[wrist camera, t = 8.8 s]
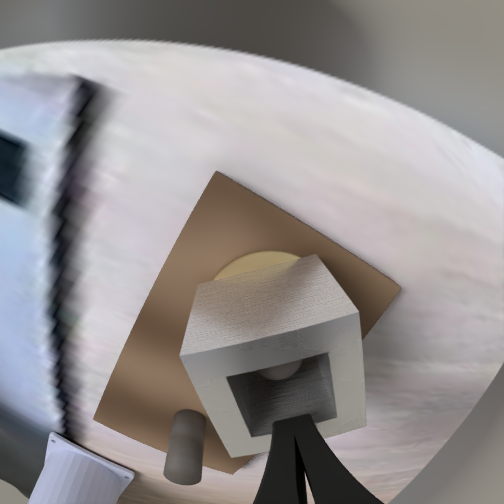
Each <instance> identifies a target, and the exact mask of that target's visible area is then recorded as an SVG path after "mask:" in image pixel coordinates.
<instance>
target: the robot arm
mask: <svg viewBox="0 0 504 504" xmlns="http://www.w3.org/2000/svg"><path fill="white" fill-rule="evenodd" d="M304 471H305V472H304ZM305 474H306V477H307V480H308V483H309V486H310V489H311V492H312V495H313V498H314V501H315V504H384V503H383V502H382V501H380V500H379V499H378V498H376V497H375V496H374V495H373V494H372V493H370V492H369V491H368V490H367V489H366V488H365V487H364V486H363V485H362V484H361V483H359V482H358V481H357V480H356V479H355V478H354V477H353V475H352V474H351V473H350V472H349V471H348V470H347V469H346V468H345V467H344V466H343V464H342V463H341V462H340V461H339V460H338V458H337V457H336V456H335V454H334V453H333V452H332V450H331V449H330V448H329V446H328V445H327V443H326V442H325V441H324V439H323V437H322V436H321V434H320V432H319V431H318V429H317V427H316V425H315V423H314V421H313V418H312V416H311V414H304V415H300V416H295V417H291V418H287V419H282V420H278V421H275V422H274V423H273V424H272V439H271V445H270V451H269V455H268V460H267V464H266V468H265V471H264V475H263V478H262V481H261V484H260V487H259V490H258V492H257V495H256V497H255V500H254V502H253V504H307V492H306V482H305ZM134 476H135V473H134V472H133V471H131V470H128V469H126V468H124V467H121V466H119V465H117V464H115V463H112V462H110V461H108V460H106V459H104V458H102V457H100V456H97V455H95V454H93V453H91V452H89V451H87V450H85V449H84V448H82V447H80V446H78V445H76V444H74V443H72V442H70V441H69V440H67V439H65V438H63V437H61V436H60V435H58V434H56V433H54V432H51V433H50V435H49V440H48V445H47V451H46V458H45V465H44V468H43V470H42V472H41V474H40V477H39V479H38V481H37V483H36V485H35V488H34V490H33V492H32V494H31V497H30V499H29V502H28V504H117V501H118V498H119V496H120V495H121V494H122V492H123V491H124V490H125V489H126V487H127V486H128V485H129V484H130V482H131V481H132V480H133V478H134Z"/></svg>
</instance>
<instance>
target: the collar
mask: <svg viewBox="0 0 504 504" xmlns="http://www.w3.org/2000/svg"><path fill="white" fill-rule="evenodd" d="M180 358H181V360H182V363H183V365H184V367H185V369H186V371H187V373H188V376H189V378H190V380H191V382H192V384H193V386H194V388H195V390H196V392H197V394H198V396H199V398H200V400H201V402H202V404H203V406H204V408H205V410H206V412H207V414H208V416H209V418H210V420H211V422H212V424H213V426H214V427H215V429H216V431H217V433H218V435H219V437H220V439H221V440H222V442H223V444H224V446H225V448H226V449H227V451H228V453H229V455H230V457H231V458H233V457H240V456H246V455H252V454H258V453H264V452H269V451H270V445H271V439H272V424H273V423H274V422H275V421H278V420H282V419H287V418H291V417H295V416H300V415H304V414H311V416H312V418H313V421H314V423H315V425H316V427H317V429H318V431H319V432H320V434H321V436H322V437H323V439H325V438H328V437H332V436H335V435H339V434H342V433H345V432H349V431H352V430H355V429H358V428H361V427H364V426H366V397H365V377H364V362H363V349H362V337H361V327H360V317H359V311H358V310H357V308H356V307H355V306H354V304H353V303H352V301H351V300H350V299H349V297H348V296H347V295H346V293H345V292H344V291H343V289H342V288H341V287H340V285H339V284H338V282H337V281H336V280H335V278H334V277H333V276H332V274H331V273H330V272H329V270H328V269H327V268H326V266H325V265H324V264H323V263H322V261H321V260H320V259H319V257H318V256H317V255H316V254H314V255H310V256H307V257H303V258H299V259H295V260H291V261H288V262H284V263H280V264H276V265H272V266H268V267H264V268H260V269H256V270H253V271H249V272H245V273H241V274H237V275H233V276H229V277H225V278H221V279H217V280H213V281H209V282H205V283H201V284H198V287H197V291H196V294H195V298H194V302H193V306H192V309H191V313H190V317H189V321H188V324H187V328H186V332H185V336H184V340H183V344H182V348H181V352H180ZM300 359H302V362H301V365H300V367H299V368H298V370H297V371H296V372H295V373H294V374H293V375H291V376H290V377H288V378H286V379H282V380H271V379H268V378H265V377H264V376H262V375H261V374H260V373H258V371H257V370H260V369H264V368H268V367H273V366H277V365H281V364H285V363H289V362H293V361H297V360H300Z"/></svg>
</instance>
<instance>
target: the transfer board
mask: <svg viewBox="0 0 504 504" xmlns="http://www.w3.org/2000/svg"><path fill="white" fill-rule="evenodd" d="M314 254H316V255H317V256H318V257H319V259H320V260H321V261H322V263H323V264H324V265H325V266H326V268H327V269H328V270H329V272H330V273H331V274H332V276H333V277H334V278H335V280H336V281H337V282H338V284H339V285H340V287H341V288H342V289H343V291H344V292H345V293H346V295H347V296H348V297H349V299H350V300H351V301H352V303H353V304H354V306H355V307H356V308H357V310H358V311H359V317H360V327H361V337H362V340H363V338H364V337H365V336H366V335H367V333H368V332H369V331H370V330H371V328H372V327H373V326H374V324H375V323H376V322H377V320H378V319H379V318H380V316H381V315H382V314H383V312H384V311H385V310H386V308H387V307H388V306H389V304H390V303H391V301H392V300H393V299H394V297H395V296H396V294H397V293H398V292H399V290H400V289H401V287H400V286H399V285H397V284H396V283H395V282H394V281H393V280H391V279H390V278H388V277H387V276H385V275H384V274H383V273H381V272H380V271H378V270H377V269H375V268H374V267H372V266H371V265H369V264H368V263H366V262H364V261H363V260H361V259H360V258H358V257H357V256H355V255H354V254H352V253H351V252H349V251H348V250H346V249H345V248H343V247H342V246H340V245H338V244H337V243H335V242H334V241H332V240H331V239H329V238H327V237H326V236H324V235H323V234H321V233H320V232H318V231H316V230H315V229H313V228H312V227H310V226H308V225H307V224H305V223H304V222H302V221H300V220H299V219H297V218H295V217H294V216H292V215H291V214H289V213H287V212H286V211H284V210H282V209H281V208H279V207H277V206H276V205H274V204H272V203H271V202H269V201H267V200H266V199H264V198H262V197H261V196H259V195H257V194H256V193H254V192H252V191H251V190H249V189H247V188H246V187H244V186H242V185H240V184H239V183H237V182H235V181H234V180H232V179H230V178H228V177H227V176H225V175H223V174H221V173H220V172H218V171H216V172H215V173H214V175H213V176H212V178H211V180H210V181H209V183H208V185H207V187H206V188H205V190H204V192H203V194H202V195H201V197H200V199H199V201H198V202H197V204H196V206H195V208H194V210H193V211H192V213H191V215H190V217H189V219H188V220H187V222H186V224H185V226H184V228H183V229H182V231H181V233H180V235H179V237H178V239H177V241H176V242H175V244H174V246H173V248H172V250H171V252H170V254H169V256H168V258H167V260H166V261H165V263H164V265H163V267H162V269H161V271H160V273H159V275H158V277H157V279H156V281H155V283H154V285H153V287H152V289H151V291H150V293H149V295H148V297H147V299H146V301H145V303H144V305H143V307H142V309H141V311H140V313H139V315H138V318H137V320H136V322H135V324H134V326H133V328H132V330H131V332H130V335H129V337H128V339H127V341H126V343H125V345H124V348H123V350H122V352H121V354H120V356H119V359H118V361H117V363H116V365H115V368H114V370H113V372H112V375H111V377H110V379H109V382H108V384H107V386H106V389H105V391H104V393H103V396H102V398H101V401H100V403H99V405H98V408H97V410H96V413H95V415H94V418H93V420H95V421H97V422H99V423H101V424H103V425H105V426H107V427H109V428H111V429H113V430H115V431H117V432H119V433H121V434H123V435H125V436H128V437H130V438H132V439H134V440H137V441H139V442H141V443H143V444H146V445H148V446H151V447H153V448H155V449H158V450H160V451H163V452H166V453H167V456H166V462H165V467H164V476H165V477H166V478H167V479H168V480H169V481H171V482H173V483H176V484H180V485H194V484H197V483H199V482H200V481H201V476H202V466H205V467H209V468H212V469H215V470H218V471H222V472H225V473H229V474H232V475H233V474H234V473H235V472H236V471H237V470H239V469H240V468H241V467H242V466H243V465H244V464H245V463H247V462H248V461H249V460H250V459H251V458H252V457H253V456H254V455H255V454H252V455H246V456H240V457H233V458H231V457H230V455H229V453H228V451H227V449H226V448H225V446H224V444H223V442H222V440H221V439H220V437H219V435H218V433H217V431H216V429H215V427H214V426H213V424H212V422H211V420H210V418H209V416H208V414H207V412H206V410H205V408H204V406H203V404H202V402H201V400H200V398H199V396H198V394H197V392H196V390H195V388H194V386H193V384H192V382H191V380H190V378H189V376H188V373H187V371H186V369H185V367H184V365H183V363H182V360H181V358H180V352H181V348H182V344H183V340H184V336H185V332H186V328H187V324H188V321H189V317H190V313H191V309H192V306H193V302H194V298H195V294H196V291H197V287H198V284H201V283H205V282H209V281H213V280H217V279H221V278H225V277H229V276H233V275H237V274H241V273H245V272H249V271H253V270H256V269H260V268H264V267H268V266H272V265H276V264H280V263H284V262H288V261H291V260H295V259H299V258H303V257H307V256H310V255H314ZM301 362H302V359H300V360H297V361H293V362H289V363H285V364H281V365H277V366H273V367H268V368H264V369H260V370H257V371H258V373H260V374H261V375H262V376H264V377H265V378H268V379H271V380H282V379H286V378H288V377H290V376H291V375H293V374H294V373H295V372H296V371H297V370H298V368H299V367H300V365H301Z"/></svg>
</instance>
